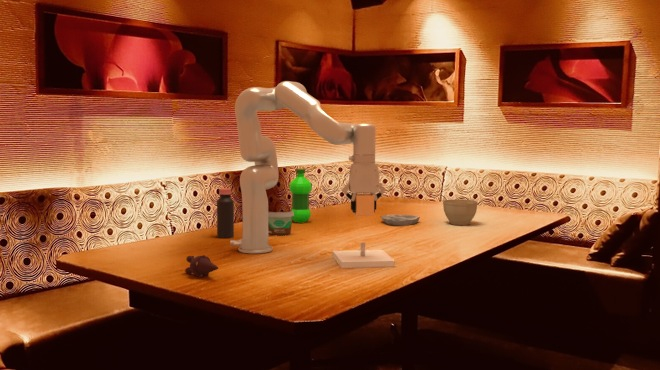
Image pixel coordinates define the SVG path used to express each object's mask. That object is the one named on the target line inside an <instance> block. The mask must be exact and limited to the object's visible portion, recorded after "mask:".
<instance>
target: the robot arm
mask: <svg viewBox="0 0 660 370" xmlns="http://www.w3.org/2000/svg"><path fill="white" fill-rule="evenodd" d="M283 109H287V110H289V111H291V113H293V114H295V115H296V116H297V117H298V118H300V119H301V120H303V121H304V122H305V124H306V125H307V126H308V127H309V128H310V129H311V130H312V131H313V132H314V133H315V134H317V135H318V136H320V137H321V138H322V139H323V140H325V141H326V142H328V143H330V144H332V145H335V146H343V145H351V144H352V156H349V157H348V161H351V162H352V163H351V164H350V167H349V175H348V182H347V183H346V185H344V187H343V188H341V193H343V194H344V195H345V197H347V198H348V199H349V200H350V210H351V211H352V213H356V201H355V198H356V195H357V194H361V193H371V194H372V195H374V213H376V212H375V211H376V210H377V201H378V200H379V199H380V198H381V196H382V195H384V194H385V193H386V191H387V189H386V188H385V187H384V186H383V185H382V184H381V182H380V174H379V173H380V172H379V165H378V163H376V132H377V131H376V125H374V124H373V123H351V122H340V121H337V120H335V119H334V118H333V117H331V116H330V115H328V114H327V113H326V112H325V111H324V110H323V109H322V107H321V101H320V100H318V99H316V98H315V97H313V96H312V95H311V94H309V93H308V92H307V89H306V87H305V86H304V85H303V84H301V83H300V82H297V81H289V80H284V81H281V82H280V83H278V84H277V86H275V87H269V88H268V87H259V86H253V87H248V88H246V89H244V90H243V91H241V92H240V94H239V95H238V96H237V98H236V100H235V104H234V115H235V119H236V127H237V136H238V144H239V145H238V146H239V151H240V157H241V158H242V159H243V160H244V161H246V162H249V163H254V165H250V166H247V167H245V169H243V170H242V172H241V174H240V176H239V185H240V191H241V201H242V203H241V204H242V205H241V206H242V207H241V209H242V216H241V217H242V236H241V238H239V239H229V240H230V243H229V244H230V246H233V247H236V246H237V247H238V251H239V252H240V253H244V254H253V255H254V254H257V255H258V254H266V253H270V252H272V251H273V246H272V245H269V233H268V212H269V200H268V195H267V191H266V190H269V189H271V188H274V187H275V186H276V185H277V184H278V181H279V166H278V165H279V164H278V156H277V149H276V145H275V143H274V142H273V140H272V138H270V137H269V136H266V135H262V126H261V121H260V118H259V116H258V112H272V111H279V110H283ZM348 190H349V191H350V192H351V193H350V192H348Z"/></svg>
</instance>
